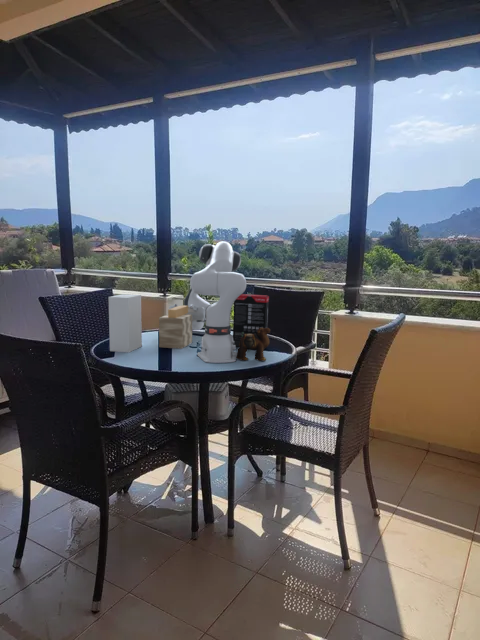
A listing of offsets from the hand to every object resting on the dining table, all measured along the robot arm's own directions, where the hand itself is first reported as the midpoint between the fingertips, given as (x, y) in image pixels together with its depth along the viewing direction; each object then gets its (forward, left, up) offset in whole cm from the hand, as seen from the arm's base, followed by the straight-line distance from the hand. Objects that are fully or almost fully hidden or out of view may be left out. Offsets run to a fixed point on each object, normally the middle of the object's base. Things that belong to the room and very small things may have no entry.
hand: (183, 305), depth 235 cm
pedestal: (-10, +4, -19) cm, 22 cm away
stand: (-19, +28, -19) cm, 39 cm away
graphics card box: (-20, -33, -19) cm, 43 cm away
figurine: (-45, -31, -19) cm, 57 cm away
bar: (-7, +3, -4) cm, 8 cm away
